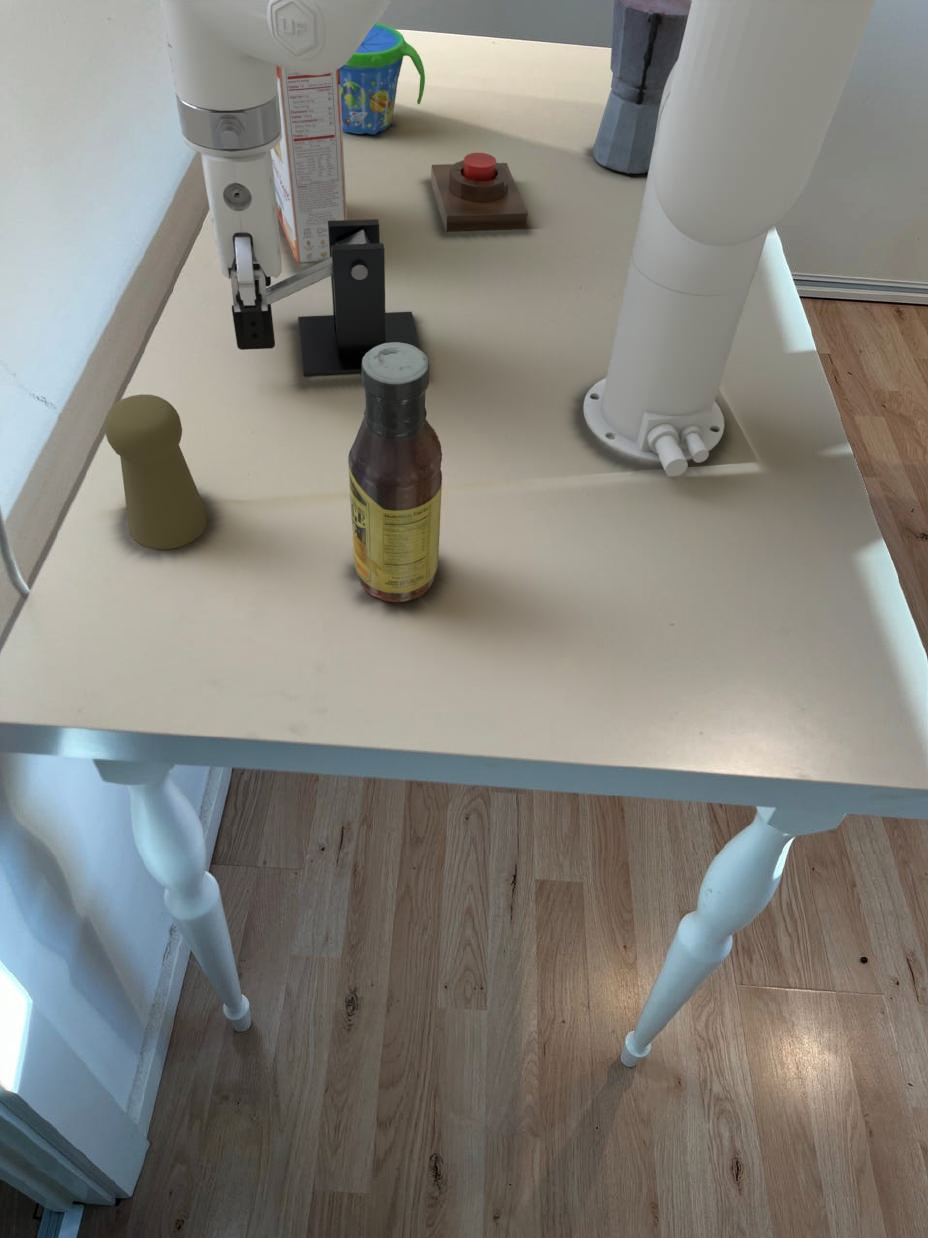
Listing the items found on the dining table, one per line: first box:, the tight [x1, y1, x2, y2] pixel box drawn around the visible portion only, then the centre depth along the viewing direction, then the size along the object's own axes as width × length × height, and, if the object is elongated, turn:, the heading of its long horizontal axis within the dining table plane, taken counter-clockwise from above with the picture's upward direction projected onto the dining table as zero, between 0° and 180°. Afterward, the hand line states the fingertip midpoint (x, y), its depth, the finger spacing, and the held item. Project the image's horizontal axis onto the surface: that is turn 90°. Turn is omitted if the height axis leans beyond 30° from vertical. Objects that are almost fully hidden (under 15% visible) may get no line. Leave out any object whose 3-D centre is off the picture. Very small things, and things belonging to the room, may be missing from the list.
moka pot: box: [592, 0, 692, 175], centre depth 110 cm, size 10×15×20 cm, turn 174°
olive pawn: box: [104, 393, 209, 550], centre depth 70 cm, size 6×6×11 cm
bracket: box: [297, 218, 422, 378], centre depth 85 cm, size 11×9×12 cm
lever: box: [254, 230, 371, 305], centre depth 83 cm, size 12×5×2 cm, turn 99°
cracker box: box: [271, 66, 348, 264], centre depth 94 cm, size 14×6×21 cm, turn 18°
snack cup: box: [339, 22, 426, 136], centre depth 117 cm, size 16×10×10 cm
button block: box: [430, 159, 529, 233], centre depth 107 cm, size 12×9×4 cm
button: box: [463, 152, 497, 181], centre depth 105 cm, size 4×4×2 cm
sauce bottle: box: [347, 342, 443, 603], centre depth 64 cm, size 6×6×20 cm
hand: (255, 314), depth 85 cm, fingers open, 9 cm apart
